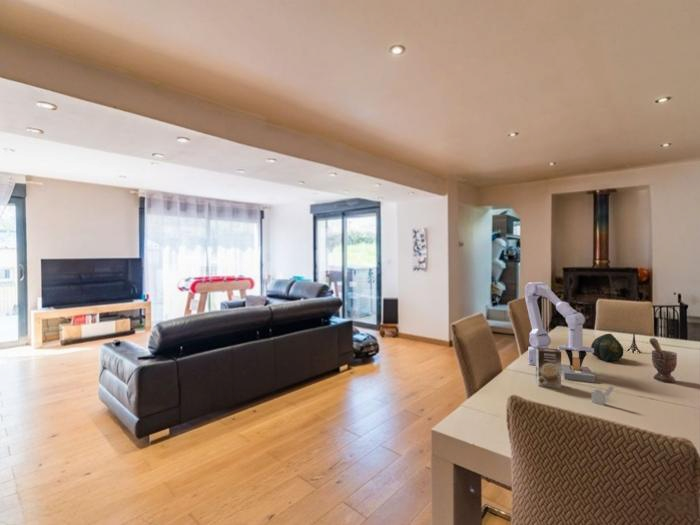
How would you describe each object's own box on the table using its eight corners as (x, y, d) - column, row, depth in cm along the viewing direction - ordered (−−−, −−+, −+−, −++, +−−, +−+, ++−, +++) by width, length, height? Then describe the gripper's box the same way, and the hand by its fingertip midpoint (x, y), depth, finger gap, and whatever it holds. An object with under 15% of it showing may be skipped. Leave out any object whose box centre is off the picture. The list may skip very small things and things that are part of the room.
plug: (572, 370, 167) (572, 358, 167) (571, 368, 170) (571, 356, 170) (580, 371, 165) (580, 359, 165) (578, 369, 169) (578, 357, 169)
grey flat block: (564, 379, 162) (564, 372, 162) (559, 370, 175) (559, 363, 175) (595, 382, 157) (595, 375, 157) (587, 373, 170) (587, 366, 170)
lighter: (591, 402, 136) (591, 382, 136) (592, 400, 138) (592, 380, 137) (613, 407, 131) (613, 386, 131) (614, 406, 132) (614, 385, 132)
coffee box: (538, 386, 153) (537, 350, 153) (535, 381, 159) (535, 347, 159) (561, 388, 150) (561, 352, 150) (558, 383, 156) (557, 348, 156)
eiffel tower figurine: (652, 353, 204) (652, 331, 204) (649, 357, 197) (649, 333, 197) (620, 348, 215) (620, 327, 215) (617, 351, 208) (617, 330, 208)
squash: (589, 351, 189) (610, 332, 186) (582, 345, 203) (602, 327, 199) (612, 370, 185) (635, 351, 181) (604, 363, 199) (625, 345, 195)
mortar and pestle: (671, 386, 152) (671, 341, 151) (646, 380, 159) (646, 337, 159) (679, 381, 158) (679, 337, 158) (655, 375, 165) (655, 334, 165)
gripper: (559, 338, 167) (559, 366, 167) (595, 341, 161) (595, 370, 161) (557, 335, 173) (557, 362, 173) (591, 337, 167) (591, 365, 168)
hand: (575, 365), depth 168 cm, fingers closed on plug, 3 cm apart
